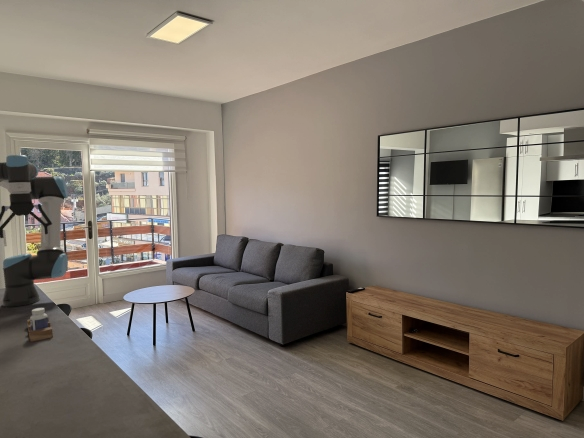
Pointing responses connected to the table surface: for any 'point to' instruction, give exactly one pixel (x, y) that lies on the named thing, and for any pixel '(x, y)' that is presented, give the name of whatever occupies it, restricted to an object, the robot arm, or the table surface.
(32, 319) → the pill bottle
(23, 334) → the table surface
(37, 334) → the brown wooden rack
